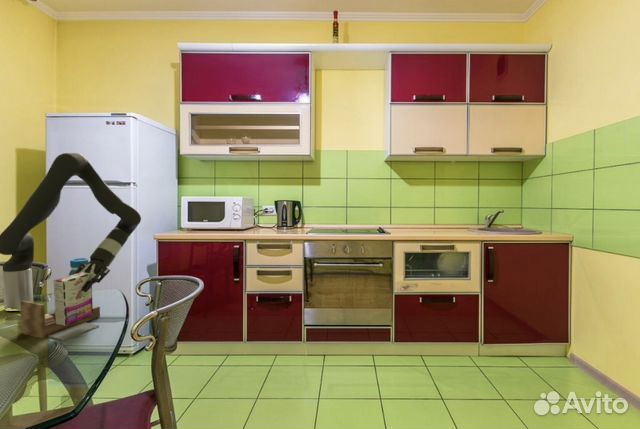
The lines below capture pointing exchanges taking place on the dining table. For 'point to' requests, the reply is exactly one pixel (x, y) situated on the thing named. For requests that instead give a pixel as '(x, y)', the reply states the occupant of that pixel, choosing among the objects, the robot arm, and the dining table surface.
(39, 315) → the slot rack
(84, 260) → the beverage bottle
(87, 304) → the candy bar box
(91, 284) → the robot arm
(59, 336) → the slate mat
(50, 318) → the offcut stack
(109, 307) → the dining table surface
